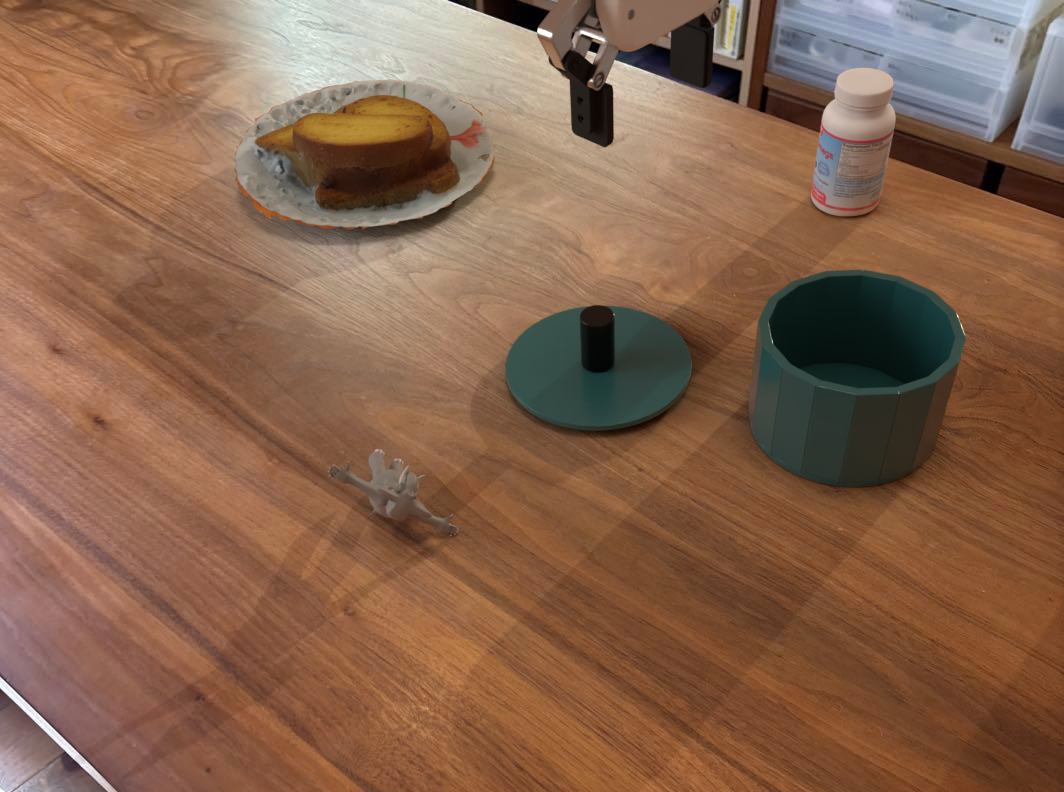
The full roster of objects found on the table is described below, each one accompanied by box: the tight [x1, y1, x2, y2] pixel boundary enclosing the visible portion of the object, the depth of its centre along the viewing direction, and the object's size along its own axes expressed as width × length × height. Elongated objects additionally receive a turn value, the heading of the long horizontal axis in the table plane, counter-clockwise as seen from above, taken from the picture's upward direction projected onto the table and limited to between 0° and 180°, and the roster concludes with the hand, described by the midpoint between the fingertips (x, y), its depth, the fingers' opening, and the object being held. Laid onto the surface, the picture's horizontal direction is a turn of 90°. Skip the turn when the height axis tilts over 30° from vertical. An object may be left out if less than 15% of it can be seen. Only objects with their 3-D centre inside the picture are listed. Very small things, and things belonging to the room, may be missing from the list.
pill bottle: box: [810, 67, 897, 217], centre depth 96 cm, size 6×6×11 cm
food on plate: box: [234, 79, 496, 231], centre depth 107 cm, size 26×25×7 cm
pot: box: [747, 269, 967, 488], centre depth 78 cm, size 13×13×8 cm
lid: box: [505, 304, 693, 432], centre depth 85 cm, size 14×14×6 cm
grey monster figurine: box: [327, 448, 460, 537], centre depth 76 cm, size 10×6×9 cm
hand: (642, 109), depth 74 cm, fingers open, 9 cm apart
